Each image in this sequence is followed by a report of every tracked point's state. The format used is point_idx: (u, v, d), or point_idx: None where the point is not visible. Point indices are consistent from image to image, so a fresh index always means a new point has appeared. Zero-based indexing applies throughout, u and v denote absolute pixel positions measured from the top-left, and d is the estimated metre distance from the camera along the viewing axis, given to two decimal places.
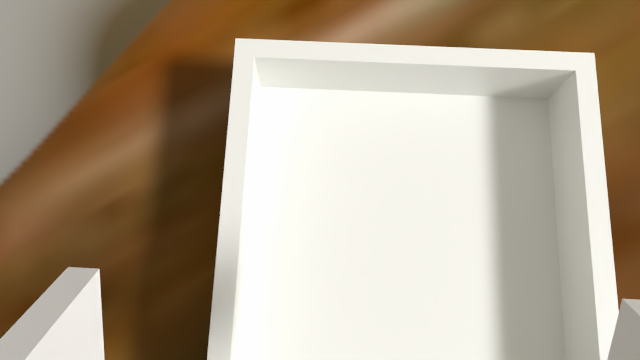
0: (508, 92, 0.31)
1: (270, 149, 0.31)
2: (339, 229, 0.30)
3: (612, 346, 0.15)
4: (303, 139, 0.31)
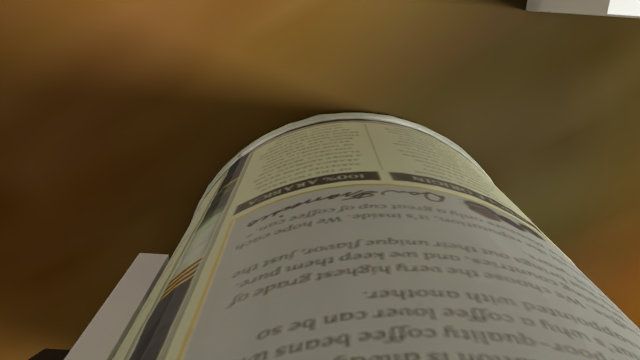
0: None
1: None
2: None
3: None
4: None
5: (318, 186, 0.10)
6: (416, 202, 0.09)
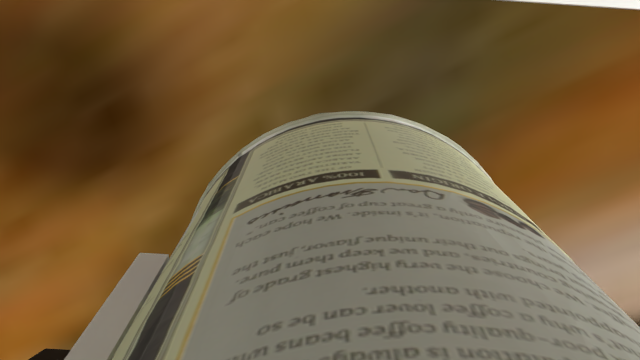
0: None
1: None
2: None
3: None
4: None
5: (318, 184, 0.10)
6: (416, 199, 0.09)
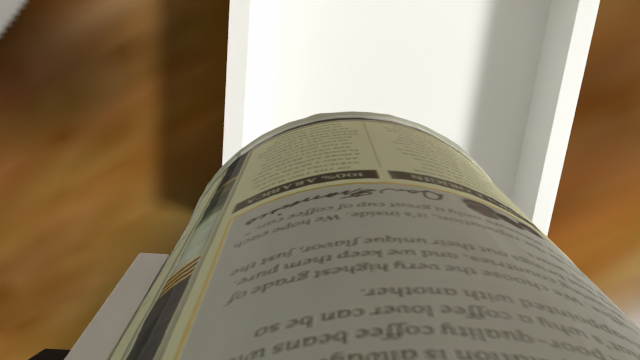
0: None
1: (271, 3, 0.31)
2: (334, 86, 0.33)
3: None
4: None
5: (317, 184, 0.10)
6: (414, 200, 0.09)
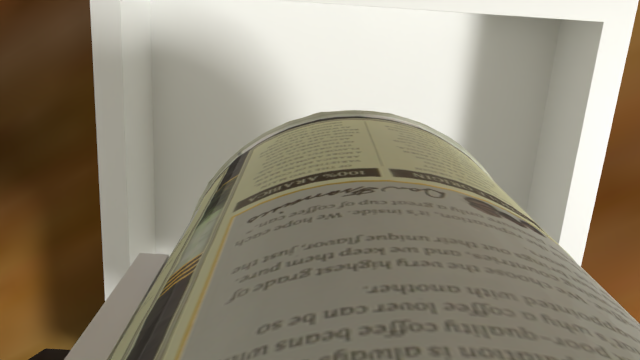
0: None
1: (171, 87, 0.23)
2: None
3: None
4: (214, 74, 0.23)
5: (319, 182, 0.10)
6: (417, 198, 0.09)
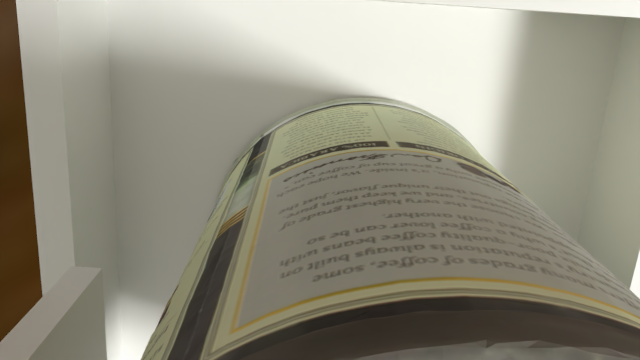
0: None
1: (134, 102, 0.18)
2: None
3: None
4: (189, 86, 0.18)
5: (339, 152, 0.12)
6: (419, 161, 0.11)
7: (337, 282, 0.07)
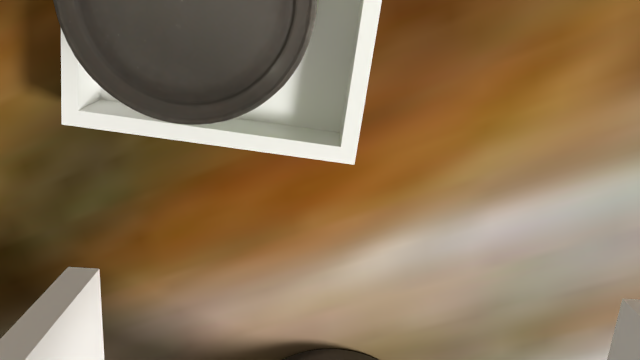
0: None
1: None
2: None
3: (612, 347, 0.14)
4: None
5: None
6: None
7: None
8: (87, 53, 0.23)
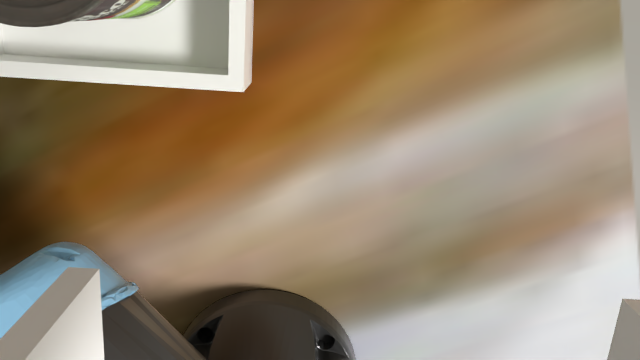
0: None
1: None
2: None
3: (612, 346, 0.15)
4: None
5: None
6: None
7: None
8: None
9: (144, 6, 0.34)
